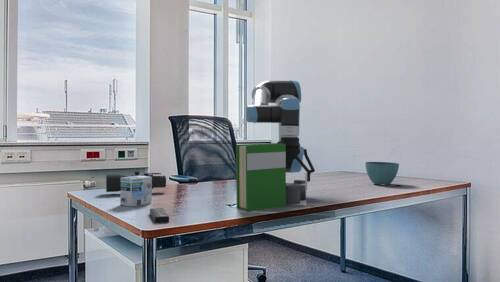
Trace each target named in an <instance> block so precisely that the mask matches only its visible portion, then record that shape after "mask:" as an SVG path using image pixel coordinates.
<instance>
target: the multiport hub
mask: <svg viewBox="0 0 500 282" xmlns="http://www.w3.org/2000/svg"><path fill="white" fill-rule="evenodd" d="M149 216H150V217H151V219H152V220H153V222H154V224H161V223H162V224H163V223H169V222H170V216H169V214H168V213H167V212H166V210H165V209H164V207H159V208H158V207H157V208H150V209H149Z"/></svg>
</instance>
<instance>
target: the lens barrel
mask: <svg viewBox="0 0 500 282" xmlns="http://www.w3.org/2000/svg"><path fill="white" fill-rule="evenodd" d="M293 183H296V184H300V201H303V200H306V201H307V190H305V179H294V180H293Z"/></svg>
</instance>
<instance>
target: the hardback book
mask: <svg viewBox="0 0 500 282" xmlns="http://www.w3.org/2000/svg"><path fill="white" fill-rule="evenodd" d="M235 165H236V166H235V168H236V172H235V173H236V176H235V178H236V179H235V181H236V182H235V183H236V185H235V187H236V189H235V190H236V208H237V209H241V208H242V209H245V212H247V213H251V212H252V211H260V210H267V209H275V208H283V207H284V208H285V207H287V205H286V183H287V181H286V179H287V177H286V176H287V172H286V144H278V143H277V142H276V143H275V142H273V143H270V142H269V143H248V144H247V143H245V144H241V143H240V144H235Z"/></svg>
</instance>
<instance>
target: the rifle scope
mask: <svg viewBox="0 0 500 282" xmlns="http://www.w3.org/2000/svg"><path fill="white" fill-rule="evenodd" d="M132 176H140V171H134V175H130V176H129V175H123V174H106V176H105V177H106V182H105V184H106V185H105V188H106V189H105V191H106V193H113V192H114V193H115V192H116V193H117V192H120V187H121V178H122V177H132ZM141 176H149V177H152V190H153V189H154V188H155V189H156V188H166V187H167V177H166V175H161V172H152V173H151V172H144V173H143V174H141Z"/></svg>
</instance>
